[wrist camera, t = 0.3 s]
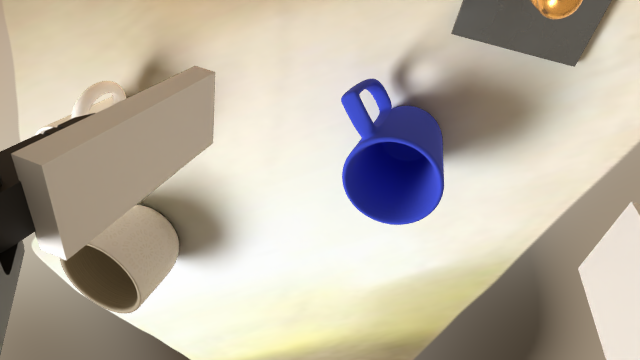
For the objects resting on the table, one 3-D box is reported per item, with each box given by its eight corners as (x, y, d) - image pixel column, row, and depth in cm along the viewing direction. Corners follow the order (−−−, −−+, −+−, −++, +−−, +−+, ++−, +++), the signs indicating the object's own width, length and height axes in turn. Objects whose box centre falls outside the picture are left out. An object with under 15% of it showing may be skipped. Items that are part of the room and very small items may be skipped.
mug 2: (410, 42, 36) (392, 73, 28) (463, 154, 40) (460, 210, 32) (335, 82, 40) (300, 119, 32) (389, 179, 44) (369, 235, 36)
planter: (193, 269, 63) (147, 324, 54) (127, 249, 66) (73, 298, 57) (184, 206, 56) (130, 256, 48) (111, 186, 59) (47, 230, 50)
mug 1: (104, 55, 48) (26, 81, 39) (165, 85, 47) (98, 118, 39) (103, 137, 55) (36, 174, 46) (156, 164, 54) (97, 206, 46)
